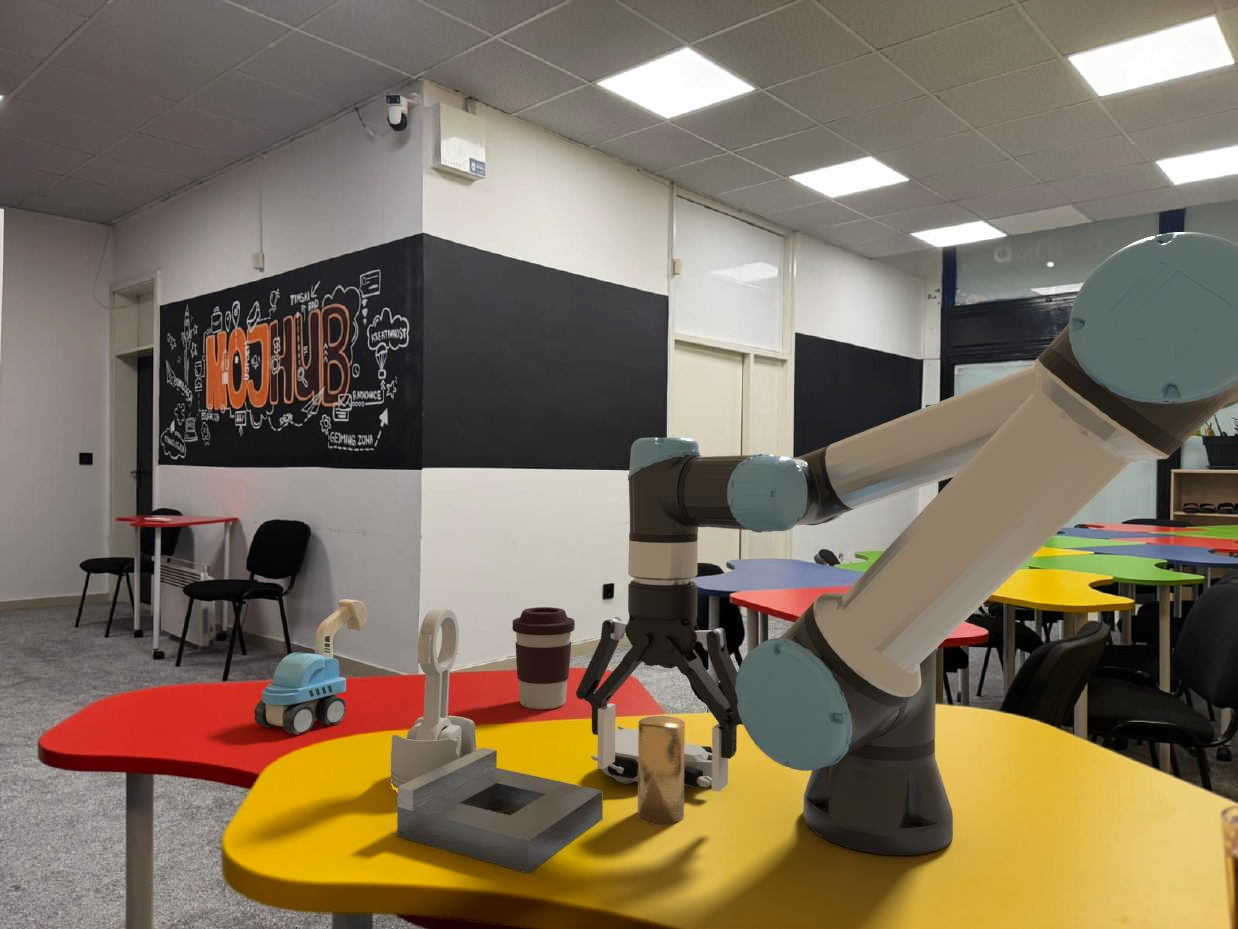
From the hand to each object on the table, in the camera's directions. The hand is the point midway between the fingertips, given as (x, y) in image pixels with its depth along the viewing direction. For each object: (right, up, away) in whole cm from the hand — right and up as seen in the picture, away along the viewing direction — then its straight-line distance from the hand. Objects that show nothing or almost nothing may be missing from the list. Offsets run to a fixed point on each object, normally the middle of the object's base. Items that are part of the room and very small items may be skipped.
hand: (661, 776), depth 90 cm
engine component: (-27, -4, +10) cm, 29 cm away
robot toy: (0, -5, +11) cm, 12 cm away
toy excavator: (-49, -4, +33) cm, 59 cm away
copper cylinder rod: (0, -4, 0) cm, 4 cm away
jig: (-17, -4, -4) cm, 18 cm away
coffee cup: (-17, -5, +43) cm, 46 cm away
